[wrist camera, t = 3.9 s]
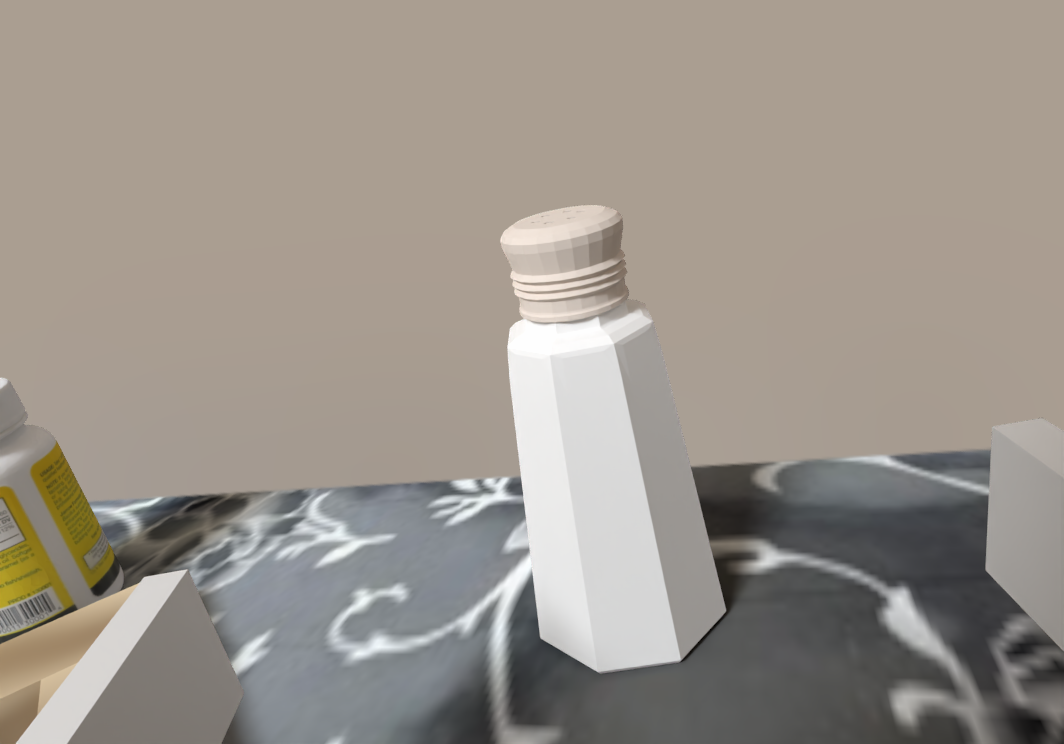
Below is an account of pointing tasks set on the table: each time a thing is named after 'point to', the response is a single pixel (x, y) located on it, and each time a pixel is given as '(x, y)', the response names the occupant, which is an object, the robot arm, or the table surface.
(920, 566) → the table surface
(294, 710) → the table surface
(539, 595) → the pepper shaker
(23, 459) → the supplement bottle
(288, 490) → the table surface
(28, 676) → the hole block
